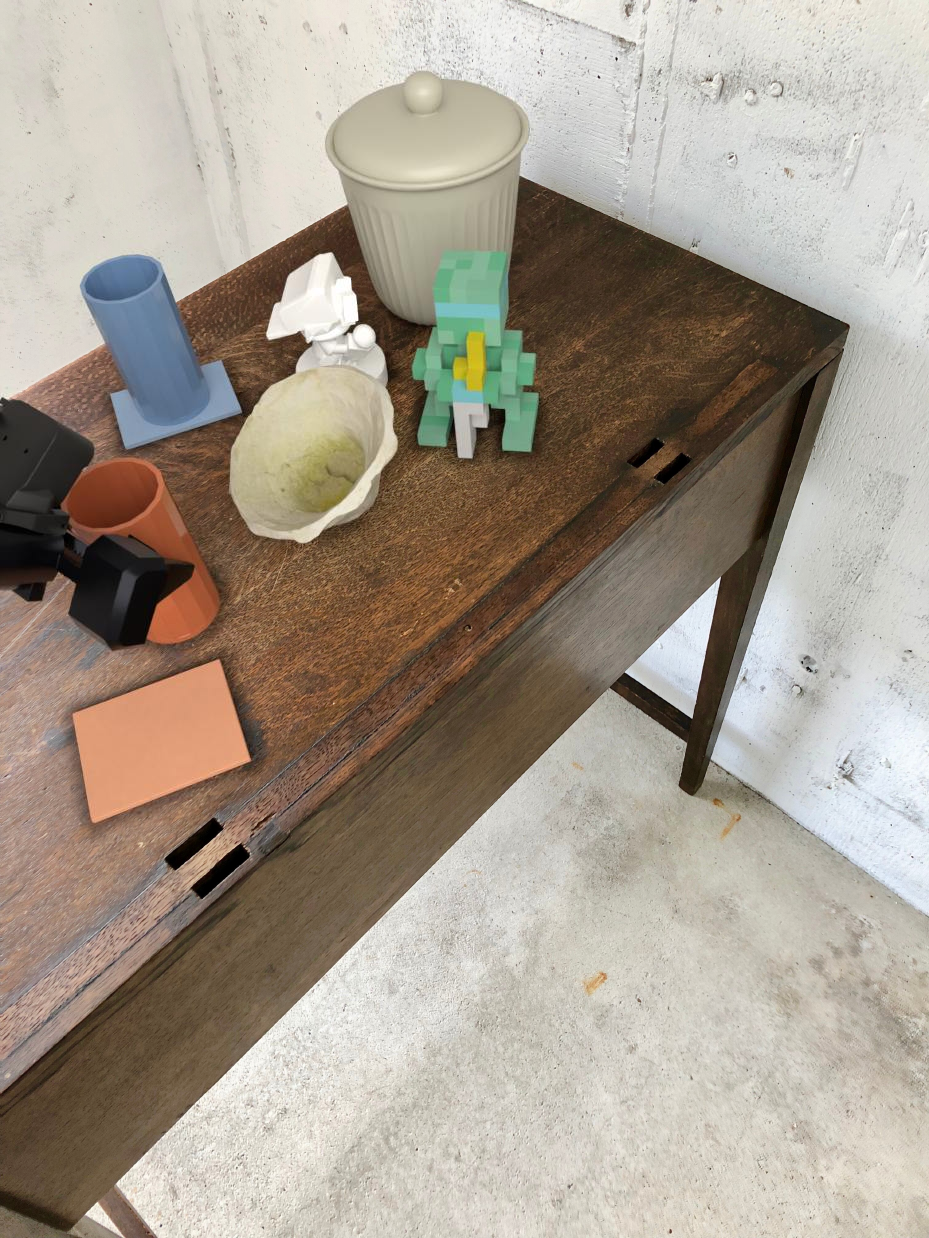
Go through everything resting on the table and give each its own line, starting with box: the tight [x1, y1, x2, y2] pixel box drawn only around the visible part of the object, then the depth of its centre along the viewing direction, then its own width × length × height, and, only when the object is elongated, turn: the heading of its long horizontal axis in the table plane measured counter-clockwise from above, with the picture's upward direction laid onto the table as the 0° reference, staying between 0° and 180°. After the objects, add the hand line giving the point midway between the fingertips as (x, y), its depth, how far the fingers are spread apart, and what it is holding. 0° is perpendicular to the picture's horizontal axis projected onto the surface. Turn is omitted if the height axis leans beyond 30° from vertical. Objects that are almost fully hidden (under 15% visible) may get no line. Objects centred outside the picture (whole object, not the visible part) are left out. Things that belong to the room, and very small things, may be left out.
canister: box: [324, 70, 531, 327], centre depth 82 cm, size 18×18×21 cm
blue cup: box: [79, 253, 210, 426], centre depth 77 cm, size 7×7×13 cm
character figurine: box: [265, 251, 389, 389], centre depth 79 cm, size 9×10×12 cm
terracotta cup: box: [60, 456, 221, 645], centre depth 64 cm, size 7×7×13 cm
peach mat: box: [72, 658, 252, 824], centre depth 62 cm, size 11×9×1 cm
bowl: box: [228, 365, 399, 544], centre depth 70 cm, size 15×14×10 cm
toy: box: [411, 250, 540, 459], centre depth 73 cm, size 10×10×15 cm
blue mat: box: [109, 359, 243, 451], centre depth 83 cm, size 11×8×1 cm
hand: (148, 543), depth 63 cm, fingers open, 9 cm apart
